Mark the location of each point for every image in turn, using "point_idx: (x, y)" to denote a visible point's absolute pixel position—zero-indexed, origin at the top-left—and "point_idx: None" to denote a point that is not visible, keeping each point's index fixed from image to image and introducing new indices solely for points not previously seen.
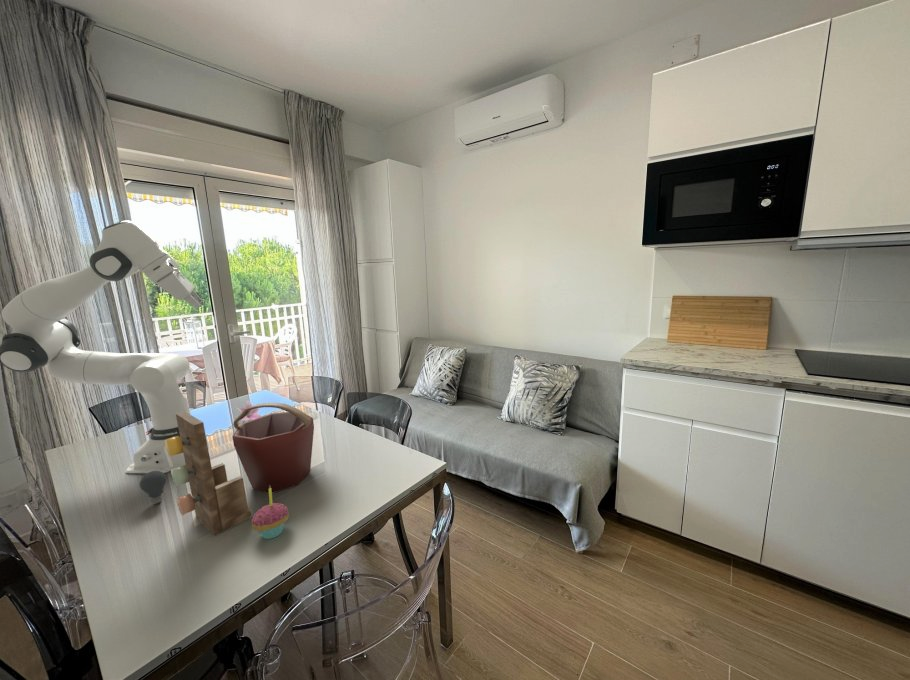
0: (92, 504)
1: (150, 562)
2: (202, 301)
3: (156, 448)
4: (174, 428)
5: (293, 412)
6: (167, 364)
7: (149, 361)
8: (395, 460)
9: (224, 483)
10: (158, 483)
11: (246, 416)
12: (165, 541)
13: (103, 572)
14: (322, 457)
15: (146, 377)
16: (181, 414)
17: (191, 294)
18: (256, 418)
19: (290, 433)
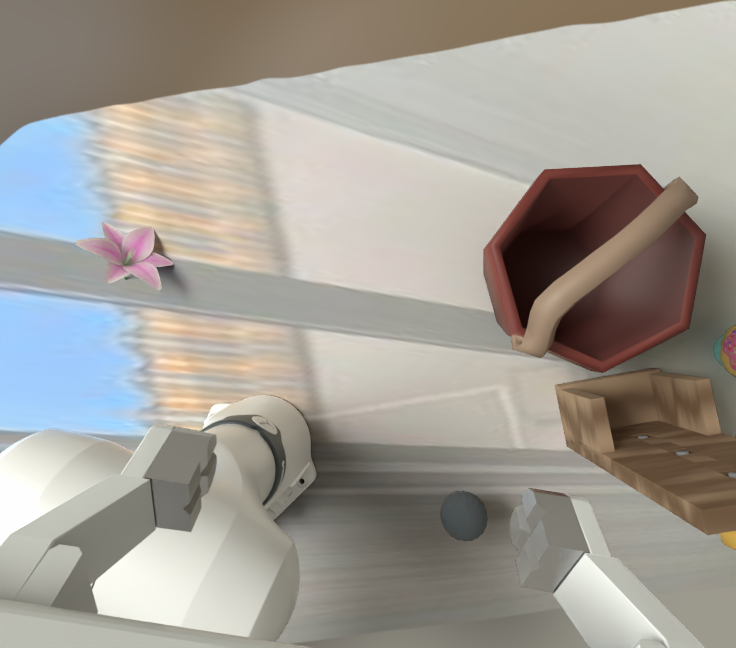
0: (360, 597)
1: (663, 519)
2: (178, 427)
3: (274, 500)
4: (277, 469)
5: (685, 209)
6: (208, 543)
7: (188, 625)
8: (659, 64)
9: (707, 414)
10: (485, 508)
11: (137, 266)
12: (616, 496)
13: (636, 577)
14: (514, 183)
15: (289, 614)
16: (733, 521)
17: (92, 591)
18: (502, 289)
19: (702, 247)
